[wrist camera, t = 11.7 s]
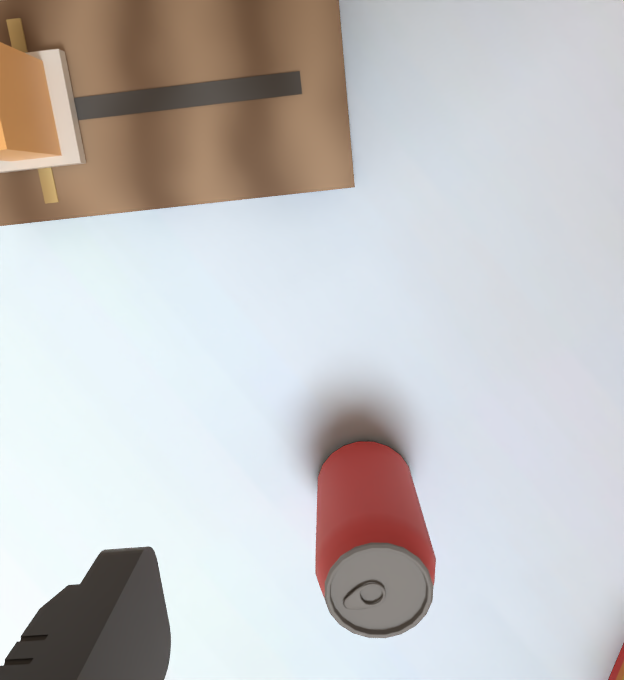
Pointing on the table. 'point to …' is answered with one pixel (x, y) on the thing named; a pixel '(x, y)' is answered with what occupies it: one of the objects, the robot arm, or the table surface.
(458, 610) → the table surface
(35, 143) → the fader tab
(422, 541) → the beer can
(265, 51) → the fader board
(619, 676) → the baking soda box
